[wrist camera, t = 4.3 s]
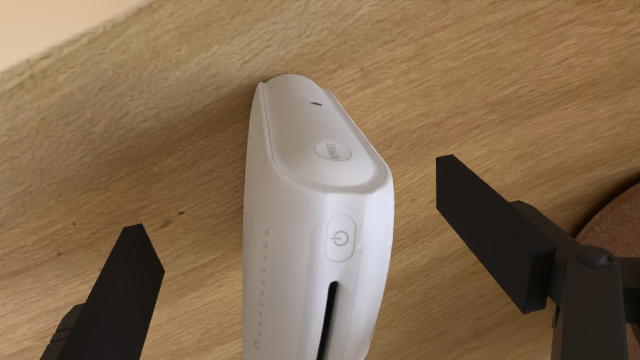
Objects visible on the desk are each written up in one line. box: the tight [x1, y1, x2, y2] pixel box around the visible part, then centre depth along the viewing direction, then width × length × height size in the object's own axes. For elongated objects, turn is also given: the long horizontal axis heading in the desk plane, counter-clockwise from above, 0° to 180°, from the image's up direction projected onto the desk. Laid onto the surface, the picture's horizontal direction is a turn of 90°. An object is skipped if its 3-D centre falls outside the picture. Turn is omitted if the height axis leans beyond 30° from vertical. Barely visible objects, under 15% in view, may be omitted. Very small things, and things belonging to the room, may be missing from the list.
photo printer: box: [243, 74, 394, 360], centre depth 16 cm, size 10×4×12 cm, turn 172°
